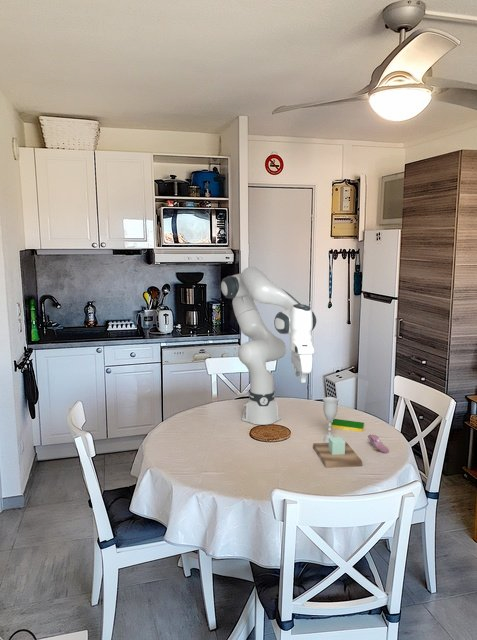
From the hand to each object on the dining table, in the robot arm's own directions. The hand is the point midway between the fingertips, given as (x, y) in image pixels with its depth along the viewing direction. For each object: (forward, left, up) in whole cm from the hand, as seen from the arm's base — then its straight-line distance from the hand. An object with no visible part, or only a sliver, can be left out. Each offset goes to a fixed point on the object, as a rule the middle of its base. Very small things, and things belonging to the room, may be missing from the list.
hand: (300, 379), depth 194 cm
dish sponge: (-20, +28, -30) cm, 46 cm away
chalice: (-6, +15, -29) cm, 33 cm away
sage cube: (+10, +13, -27) cm, 32 cm away
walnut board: (+10, +13, -29) cm, 33 cm away
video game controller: (+4, +32, -29) cm, 44 cm away
